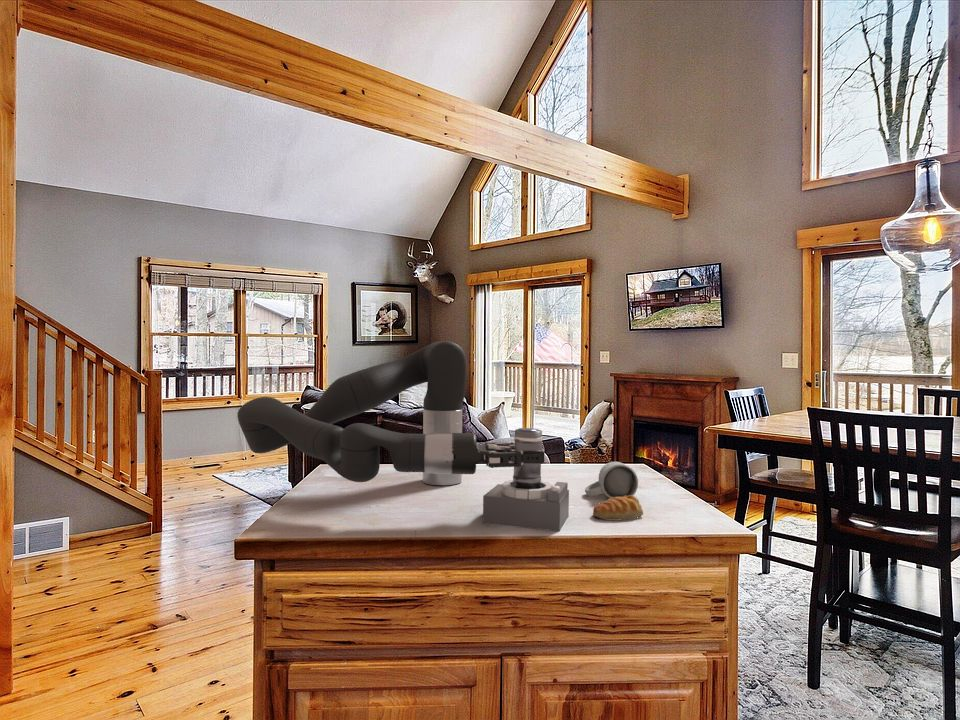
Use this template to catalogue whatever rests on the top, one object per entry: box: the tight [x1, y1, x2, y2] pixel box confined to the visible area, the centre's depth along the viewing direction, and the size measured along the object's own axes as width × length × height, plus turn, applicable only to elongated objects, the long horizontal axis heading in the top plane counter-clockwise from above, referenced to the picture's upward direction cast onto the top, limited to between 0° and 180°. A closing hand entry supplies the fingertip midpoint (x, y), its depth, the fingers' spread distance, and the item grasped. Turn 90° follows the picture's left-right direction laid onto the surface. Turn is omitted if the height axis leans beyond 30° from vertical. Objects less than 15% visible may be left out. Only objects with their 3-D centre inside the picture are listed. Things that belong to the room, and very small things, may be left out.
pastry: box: [592, 495, 644, 521], centre depth 115 cm, size 9×7×4 cm
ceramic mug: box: [584, 461, 639, 499], centre depth 130 cm, size 11×8×8 cm
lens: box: [512, 427, 543, 489], centre depth 111 cm, size 5×5×11 cm
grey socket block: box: [482, 479, 570, 532], centre depth 111 cm, size 10×14×7 cm
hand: (541, 454), depth 111 cm, fingers closed on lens, 5 cm apart
